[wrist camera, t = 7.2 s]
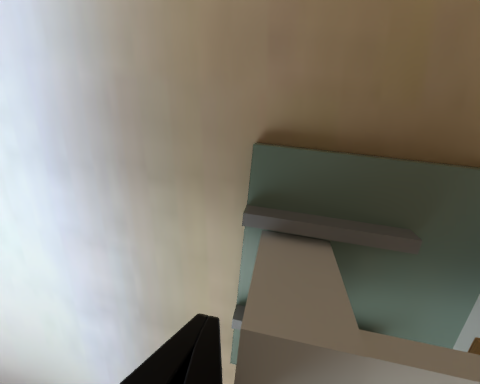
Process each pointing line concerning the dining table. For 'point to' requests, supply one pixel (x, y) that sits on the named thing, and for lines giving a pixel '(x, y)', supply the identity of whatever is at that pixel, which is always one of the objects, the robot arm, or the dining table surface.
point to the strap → (475, 346)
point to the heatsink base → (376, 236)
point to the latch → (326, 328)
